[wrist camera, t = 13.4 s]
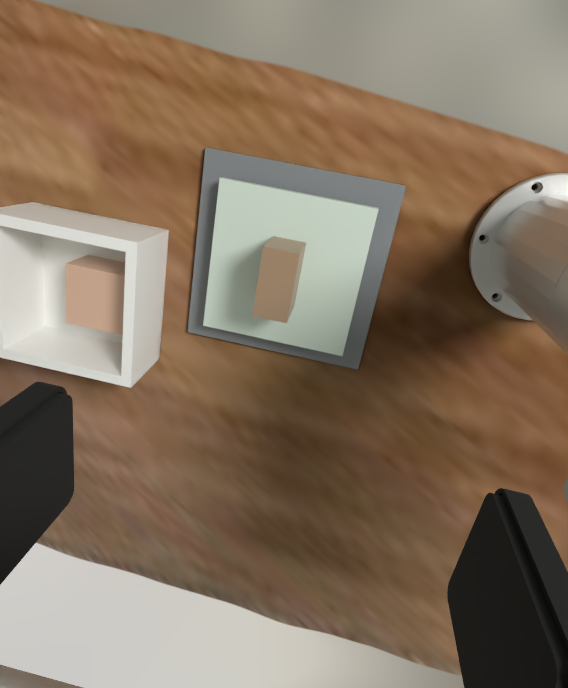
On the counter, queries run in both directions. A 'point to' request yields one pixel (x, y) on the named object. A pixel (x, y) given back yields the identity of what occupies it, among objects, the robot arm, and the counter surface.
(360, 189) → the mat
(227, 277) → the lid
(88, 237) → the storage box
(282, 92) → the counter surface
